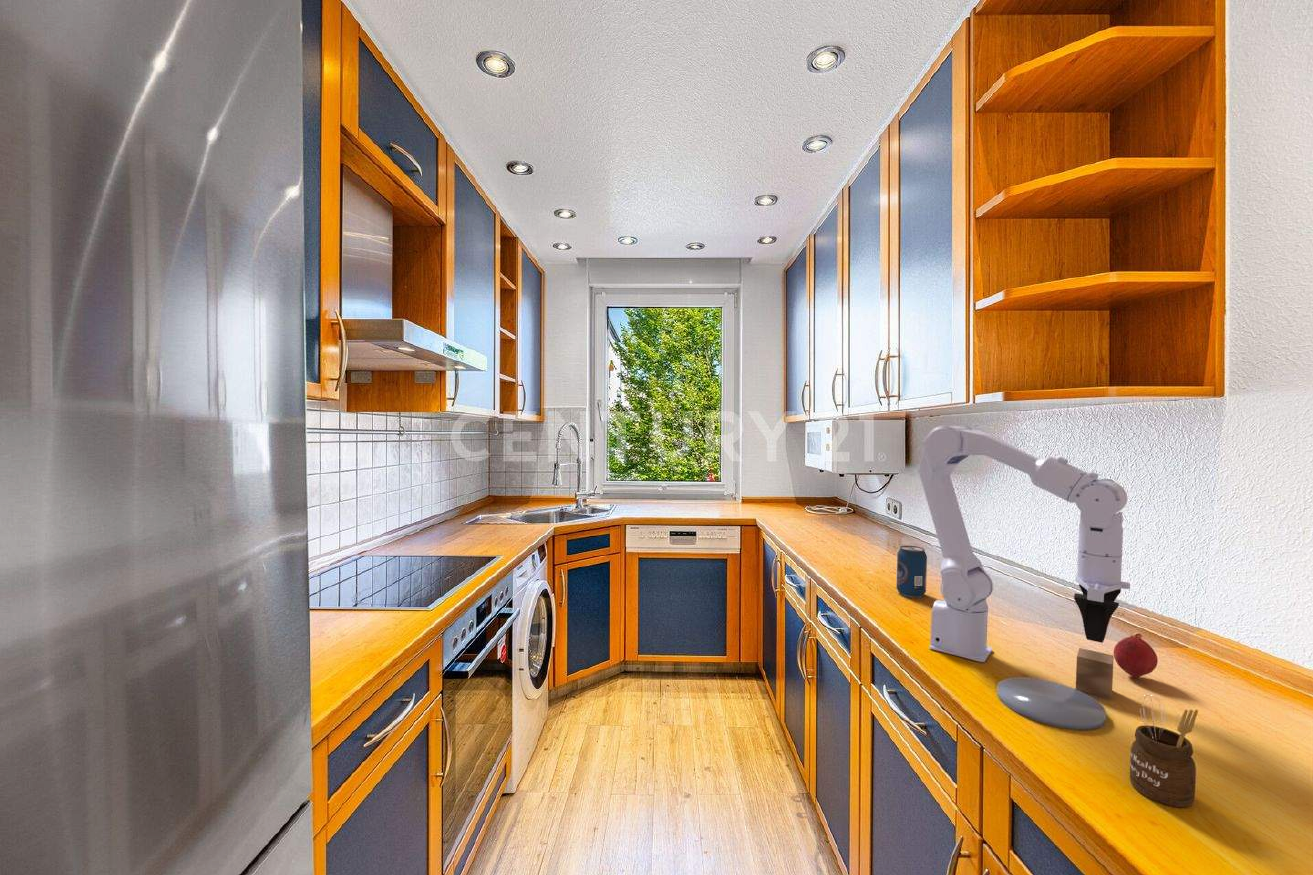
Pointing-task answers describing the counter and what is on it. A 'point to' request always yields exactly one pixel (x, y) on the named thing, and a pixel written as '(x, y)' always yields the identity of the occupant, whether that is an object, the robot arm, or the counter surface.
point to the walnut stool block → (1094, 673)
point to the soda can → (911, 571)
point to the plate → (1051, 703)
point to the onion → (1135, 656)
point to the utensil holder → (1164, 762)
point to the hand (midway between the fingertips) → (1096, 633)
